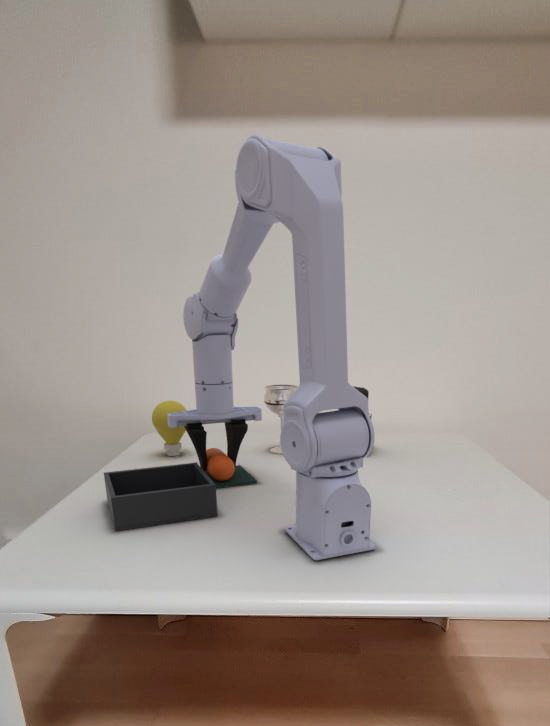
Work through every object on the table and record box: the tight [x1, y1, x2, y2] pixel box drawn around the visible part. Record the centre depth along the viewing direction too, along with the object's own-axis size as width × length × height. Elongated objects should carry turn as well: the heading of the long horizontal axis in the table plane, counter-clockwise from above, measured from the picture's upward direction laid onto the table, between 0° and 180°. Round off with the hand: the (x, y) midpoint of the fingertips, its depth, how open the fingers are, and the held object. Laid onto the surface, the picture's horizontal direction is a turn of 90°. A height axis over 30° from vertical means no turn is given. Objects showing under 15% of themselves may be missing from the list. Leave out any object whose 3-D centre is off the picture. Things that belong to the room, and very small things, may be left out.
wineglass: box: [263, 384, 299, 455], centre depth 103 cm, size 7×7×12 cm
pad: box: [204, 464, 258, 489], centre depth 88 cm, size 9×10×1 cm
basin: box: [103, 462, 218, 532], centre depth 75 cm, size 11×13×4 cm
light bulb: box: [151, 400, 188, 457], centre depth 100 cm, size 7×7×10 cm
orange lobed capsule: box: [206, 447, 235, 481], centre depth 87 cm, size 9×4×4 cm, turn 23°
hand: (218, 467), depth 87 cm, fingers closed on orange lobed capsule, 4 cm apart
